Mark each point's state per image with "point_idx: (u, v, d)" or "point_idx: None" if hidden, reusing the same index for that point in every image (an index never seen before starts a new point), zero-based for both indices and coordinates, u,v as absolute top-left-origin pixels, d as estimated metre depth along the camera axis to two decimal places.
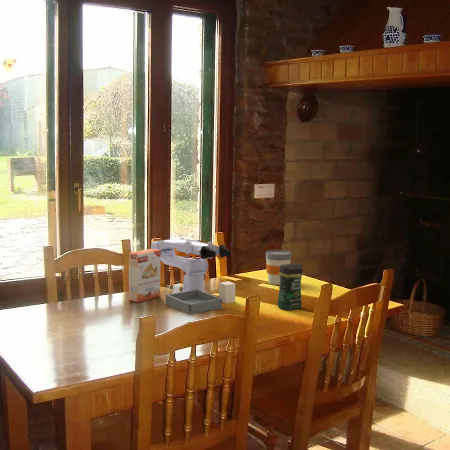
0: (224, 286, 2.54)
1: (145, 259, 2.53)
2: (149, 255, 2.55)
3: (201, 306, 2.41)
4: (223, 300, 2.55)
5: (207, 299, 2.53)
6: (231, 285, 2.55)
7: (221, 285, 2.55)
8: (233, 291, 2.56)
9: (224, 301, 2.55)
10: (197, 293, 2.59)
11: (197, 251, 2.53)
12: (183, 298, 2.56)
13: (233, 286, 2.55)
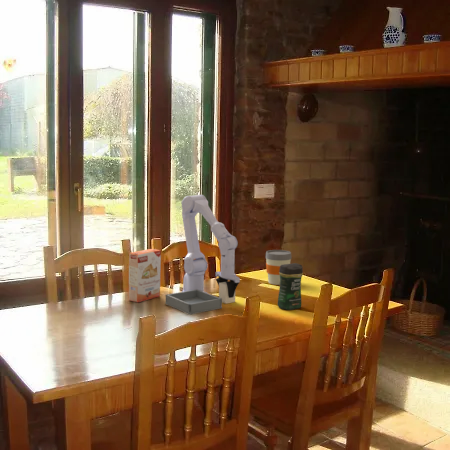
0: (224, 286, 2.54)
1: (145, 259, 2.53)
2: (149, 255, 2.55)
3: (201, 306, 2.41)
4: (223, 300, 2.55)
5: (207, 299, 2.53)
6: None
7: (221, 285, 2.55)
8: None
9: (224, 301, 2.55)
10: (197, 293, 2.59)
11: (238, 281, 2.50)
12: (183, 298, 2.56)
13: None
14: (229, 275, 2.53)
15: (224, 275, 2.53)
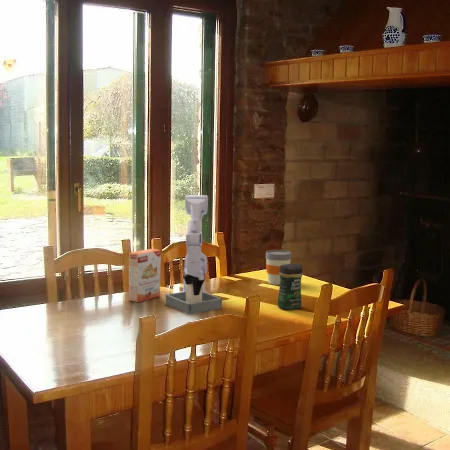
0: (190, 288, 2.46)
1: (145, 259, 2.53)
2: (149, 255, 2.55)
3: (201, 306, 2.41)
4: (189, 303, 2.47)
5: (207, 299, 2.53)
6: None
7: (187, 287, 2.48)
8: (199, 294, 2.47)
9: None
10: None
11: (202, 278, 2.41)
12: (183, 298, 2.56)
13: None
14: (194, 272, 2.44)
15: (189, 272, 2.45)
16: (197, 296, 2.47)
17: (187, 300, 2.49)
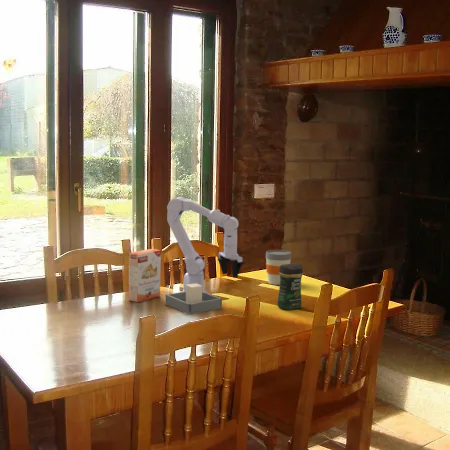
0: (190, 288, 2.46)
1: (145, 259, 2.53)
2: (149, 255, 2.55)
3: (201, 306, 2.41)
4: (189, 303, 2.47)
5: (207, 299, 2.53)
6: (197, 287, 2.46)
7: (187, 287, 2.48)
8: (199, 294, 2.47)
9: None
10: None
11: (241, 260, 2.58)
12: (183, 298, 2.56)
13: (199, 288, 2.47)
14: (232, 255, 2.60)
15: (227, 255, 2.60)
16: (197, 296, 2.47)
17: (187, 300, 2.49)
